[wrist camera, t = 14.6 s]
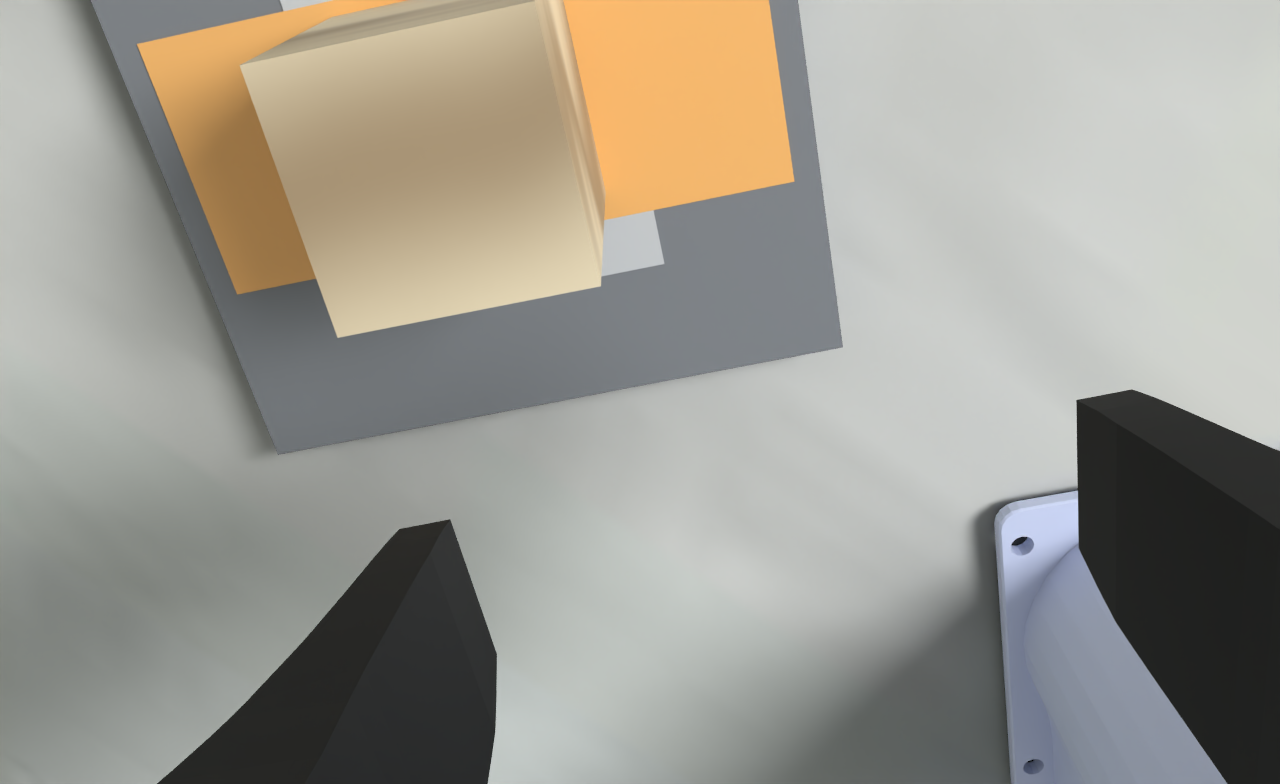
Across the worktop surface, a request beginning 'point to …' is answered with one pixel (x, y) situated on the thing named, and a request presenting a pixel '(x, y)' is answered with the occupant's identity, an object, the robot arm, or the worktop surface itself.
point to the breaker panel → (535, 329)
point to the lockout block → (435, 157)
